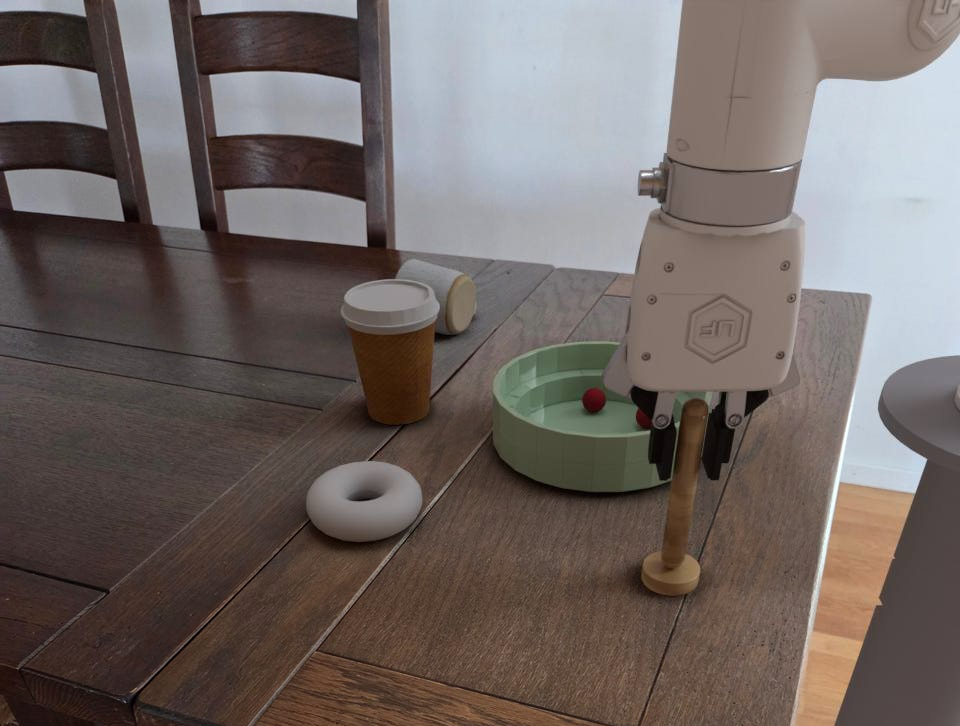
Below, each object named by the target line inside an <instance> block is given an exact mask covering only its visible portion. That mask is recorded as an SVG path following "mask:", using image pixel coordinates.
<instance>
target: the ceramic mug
mask: <svg viewBox="0 0 960 726" xmlns="http://www.w3.org/2000/svg"><path fill="white" fill-rule="evenodd" d="M394 279H402V280H412V281H416V282H421V283H423V284H426V285H428V286H429V287H431V288H432V289H433V291H434V294H435V298H436V300H437V301H438V302H439V304H440V310H439V312H438V314H437V318H436V320H435V332H434V333H436V334H441V335H447V336H448V335H449V336H456V335H459V334H461V333H463V332H464V331H465V330H466V329H467V328H468V327H469V325H470V324H471V322H472V319H473V317H474V316H475V314H476V311H477V307H478V306H477V305H478V302H477V290H476V286H475V284H474V281H473V280H472V278H471V277H470V276H469V275H467V274H465V273H463V272H461V271H460V270H456V269H453V268H448V267H444V266H441V265H437V264H433V263H430V262H427V261H423V260H421V259H416V258H412V259H411V258H410V259H408V260H406V261H405V262H404V263H402V265H401V266H400V267H399V269H398V270H397V272H396V274H395V278H394Z"/></svg>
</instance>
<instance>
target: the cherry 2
mask: <svg viewBox="0 0 960 726" xmlns="http://www.w3.org/2000/svg"><path fill="white" fill-rule="evenodd" d="M636 421H637V423H638V424H639V425H640V426H641V427H643V428H646V429H649V428H651V420H650V419H649V418H648V417H647V416H646V415H645V414H644V413H643V412H642V411H641V410H640V409H639V408H638V410H637V412H636Z"/></svg>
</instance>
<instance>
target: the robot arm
mask: <svg viewBox="0 0 960 726" xmlns="http://www.w3.org/2000/svg"><path fill="white" fill-rule="evenodd" d="M959 35H960V0H682V1H681V11H680V22H679V29H678V38H677V46H676V47H677V49H676V58H675V65H674V66H675V67H674V76H673V85H672V86H673V87H672V94H671V105H670V114H669V123H668V132H667V133H668V134H667V142H666V152H663V158H662V161H659V164H658V167H652V169H641V170H639V171H638V172H639V173H638V175H637V176H638V178H637V196H638V197H646V196H648V197H650V199H656V201H657V203H658V204H660V207H657V208H654V209H653V210H651V211H650V212H649V214H648V218H647V221H646V224H645V227H644V231H643V234H642V238H641V241H640V245H639V249H638V254H637V258H636V263H635V269H634V274H633V279H632V283H631V284H632V285H631V291H630V297H629V303H628V308H627V315H626V323H625V331H624V335H623V337H622V339H621V340H620V342H619V343H620V344H619V346H618V348H617V349H616V351H615V352H614V354H613V356H612V357H611V359H610V361H609V362H608V364H607V366H606V367H605V369H604V371H603V373H602V380H603V385H604V387H605V388H606V389H608V390H610V391H612V392H614V393H616V394H618V395H620V396H622V397H624V398H628V399H630V400H632V401H633V403H634V404H635V405H636V406H637V407H638V408H639V409H640V410H641V411H642V412H643V413H644V414H645V415H646V416H647V417H648V418H649V419H650V420H651V429H650V438H649V446H648V460H649V464H656V468H657V472H658V476H659V480H660V481H667V480H668V479H670V478H671V472H672V465H673V457H674V450H675V443H676V436H677V430H676V427H675V423H674V417H673V408H674V403H675V399H676V394H677V392H713V393H714V392H715V393H716V392H718V400H717V401H718V402H717V405H715V406H714V408H711V411H710V413H709V415H708V421H707V428H706V434H705V440H704V446H703V452H702V457H701V463H702V466H703V468H704V471H705V473H706V475H705V476H706V478H707V479H708V480H710V481H719V480H720V475H721V470H722V466H723V464H729V463H730V459H731V454H732V450H733V449H732V448H733V443H734V437H735V433H736V429H738V428H740V427H741V426H742V425H743V423H744V420H745V418H746V417H748V416H749V415H750V414H751V413H752V412H754V411H755V410H756V409H758V408H759V407H761V406H762V405H763V404H764V403H765V402H766V401H768V399H769V398H771V397H772V398H773V397H776V396H778V395H781V394H783V393H785V392H788V391H790V390H792V389H794V388H796V387H798V385H800V382H801V376H800V373H799V369H798V367H797V362H796V360H795V357H794V354H793V353H794V346H795V341H796V335H797V327H798V319H799V314H800V313H799V312H800V306H801V305H800V304H801V296H802V288H803V278H804V277H803V276H804V268H805V267H804V265H805V249H806V222H805V220H804V218H802V217H801V216H800V215H799V214H797V213H796V212H795V211H793V208H794V204H795V199H796V194H797V189H798V184H799V178H800V173H801V169H802V164H803V158H804V154H805V149H806V145H807V144H806V143H807V138H808V134H809V129H810V122H811V119H812V118H811V117H812V112H813V108H814V102H815V98H816V94H817V87H818V85H819V84H820V83H821V82H822V81H824V80H827V79H828V80H831V79H832V80H835V79H836V80H853V81H865V82H888V81H889V82H890V81H894V80H895V81H896V80H898V79H902V78H905V77H908V76H911V75H913V74H915V73H918V72H919V71H921V70H923V69H925V68H926V67H928V66H929V65H931V64H932V63H934V62H935V61H936V60H937V59H938V58H940V57H941V56H942V55H943V54H944V53H945V52H947V50H949V48H950V47H951V46H952V45H953V44H954V43H955V41H956V40H957V39H958V37H959ZM954 401H955V404H956V406H957V408H958V409H959V410H960V385H959V386H958V389H957V391H956V394H955V398H954Z"/></svg>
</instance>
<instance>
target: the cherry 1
mask: <svg viewBox="0 0 960 726" xmlns="http://www.w3.org/2000/svg"><path fill="white" fill-rule="evenodd" d="M582 403H583V406H584V408H585V409H586V410H587V411H589V412H598V411H600V410H602V409H603V408H604V406H605V404H606V396H605V394H604V392H603V391H602V390H601V389H598V388H591V389H588V390H587V391H586V392H585V393H584V395H583V398H582Z"/></svg>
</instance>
